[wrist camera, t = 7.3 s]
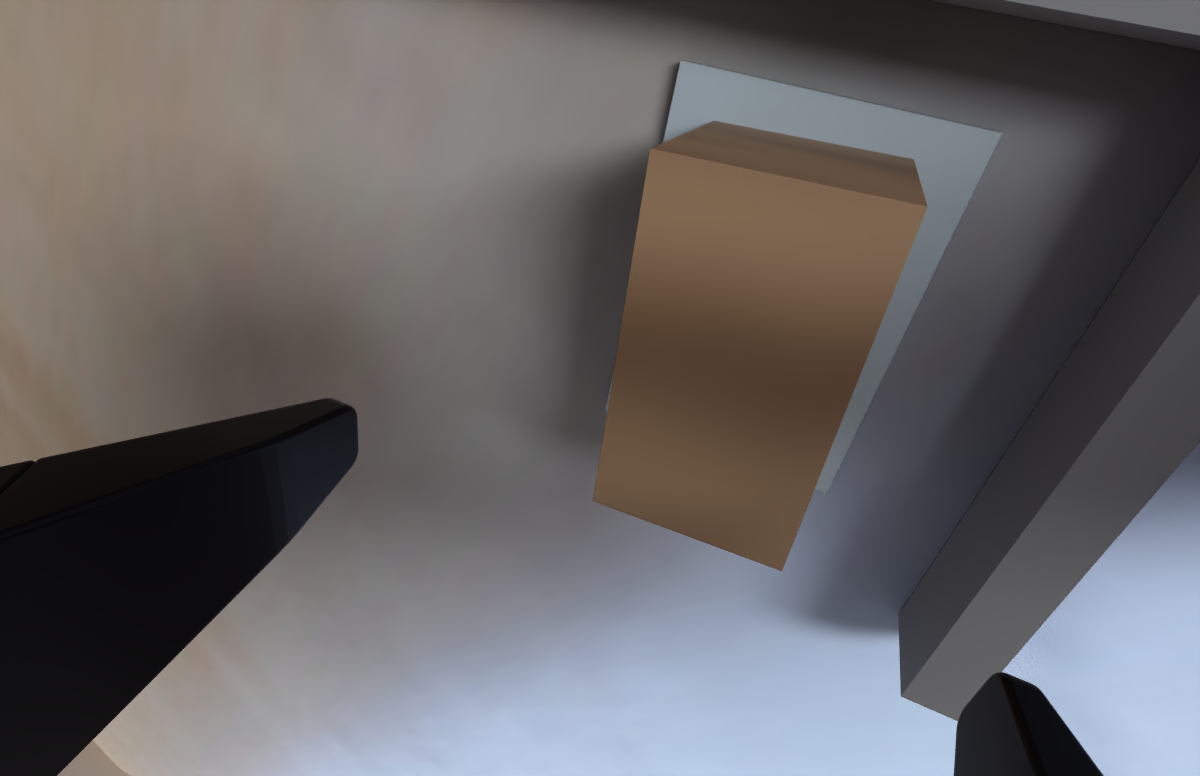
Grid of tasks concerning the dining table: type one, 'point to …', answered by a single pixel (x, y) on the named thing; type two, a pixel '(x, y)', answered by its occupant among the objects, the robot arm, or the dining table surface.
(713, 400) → the walnut block
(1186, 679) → the dining table surface
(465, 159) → the dining table surface
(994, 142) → the mat
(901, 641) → the grey angle bracket
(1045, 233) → the dining table surface
